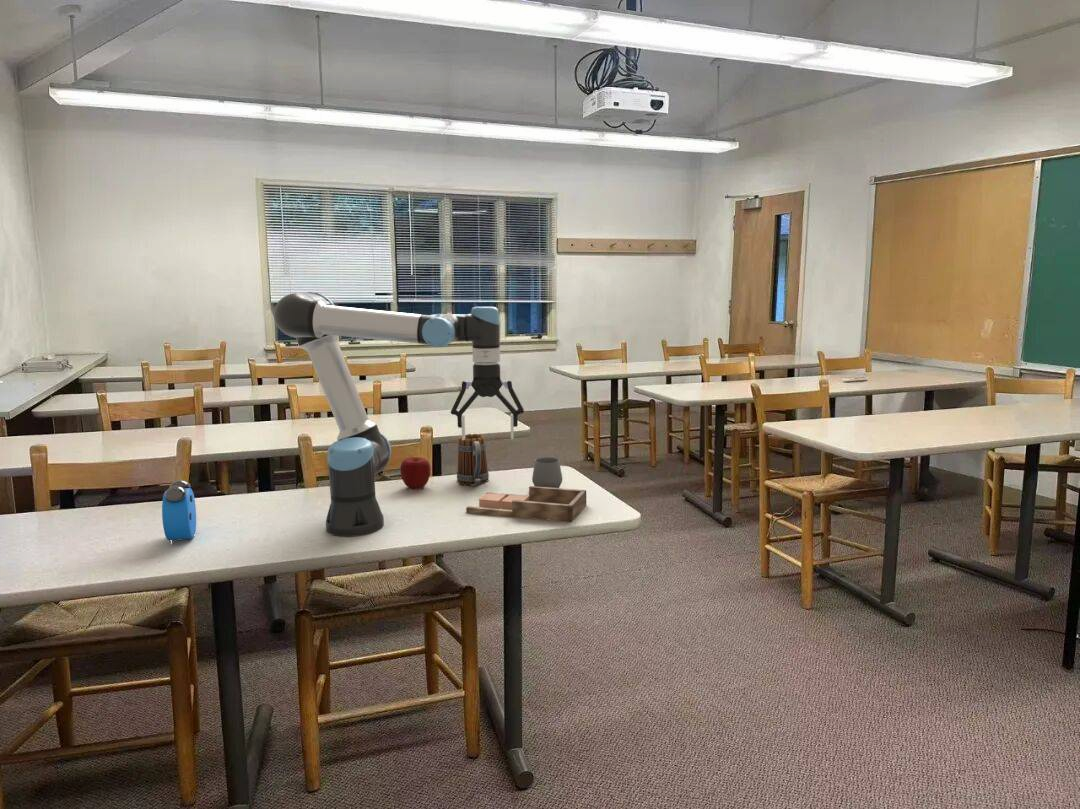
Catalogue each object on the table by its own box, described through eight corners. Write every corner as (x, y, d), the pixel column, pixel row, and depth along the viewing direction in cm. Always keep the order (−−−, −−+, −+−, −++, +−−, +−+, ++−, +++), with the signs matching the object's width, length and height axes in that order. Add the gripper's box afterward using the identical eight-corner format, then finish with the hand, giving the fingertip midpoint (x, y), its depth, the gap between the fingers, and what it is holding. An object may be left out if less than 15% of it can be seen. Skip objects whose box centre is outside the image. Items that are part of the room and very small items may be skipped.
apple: (418, 493, 222) (416, 462, 220) (394, 489, 227) (393, 459, 225) (437, 485, 230) (435, 455, 228) (414, 482, 235) (412, 452, 233)
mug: (454, 478, 238) (452, 434, 236) (485, 475, 241) (483, 432, 239) (463, 491, 224) (461, 444, 221) (496, 487, 227) (494, 441, 224)
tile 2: (501, 511, 204) (501, 501, 204) (509, 504, 210) (509, 495, 209) (521, 512, 202) (520, 502, 202) (528, 506, 208) (528, 496, 207)
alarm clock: (174, 532, 191) (167, 478, 188) (199, 529, 193) (193, 475, 190) (165, 549, 179) (158, 491, 176) (192, 545, 181) (186, 488, 178)
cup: (529, 495, 218) (529, 463, 216) (535, 486, 227) (534, 456, 225) (560, 496, 216) (559, 464, 214) (564, 487, 225) (564, 456, 223)
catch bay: (466, 512, 203) (465, 497, 202) (487, 496, 217) (486, 482, 216) (571, 522, 193) (571, 506, 192) (586, 505, 207) (586, 490, 206)
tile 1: (479, 509, 206) (479, 499, 206) (487, 503, 212) (486, 493, 211) (498, 510, 204) (498, 500, 204) (506, 504, 210) (505, 494, 210)
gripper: (439, 365, 192) (442, 442, 195) (532, 364, 193) (532, 440, 196) (442, 362, 199) (444, 436, 203) (531, 361, 200) (532, 434, 204)
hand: (488, 438), depth 200 cm, fingers open, 13 cm apart
